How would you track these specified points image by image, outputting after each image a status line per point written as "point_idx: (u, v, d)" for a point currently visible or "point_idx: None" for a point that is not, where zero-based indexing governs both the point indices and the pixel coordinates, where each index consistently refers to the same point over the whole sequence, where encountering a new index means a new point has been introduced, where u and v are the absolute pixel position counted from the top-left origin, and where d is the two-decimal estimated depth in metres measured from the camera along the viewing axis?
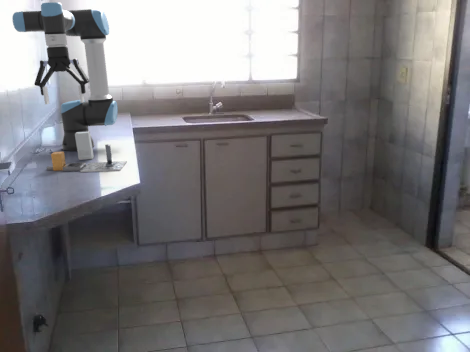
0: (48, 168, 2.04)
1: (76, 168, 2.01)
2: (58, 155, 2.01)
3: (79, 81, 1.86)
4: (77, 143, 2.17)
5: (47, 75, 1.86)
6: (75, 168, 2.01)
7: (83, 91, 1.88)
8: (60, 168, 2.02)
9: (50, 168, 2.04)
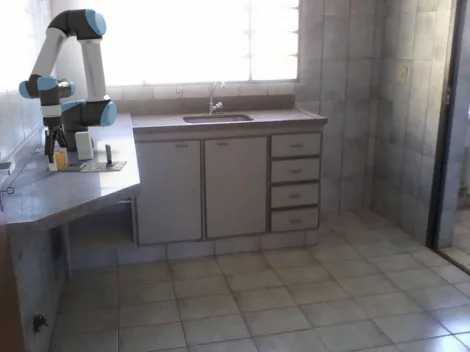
0: (48, 168, 2.04)
1: (76, 168, 2.01)
2: (58, 155, 2.01)
3: None
4: (77, 143, 2.17)
5: None
6: (75, 168, 2.01)
7: None
8: (60, 168, 2.02)
9: None
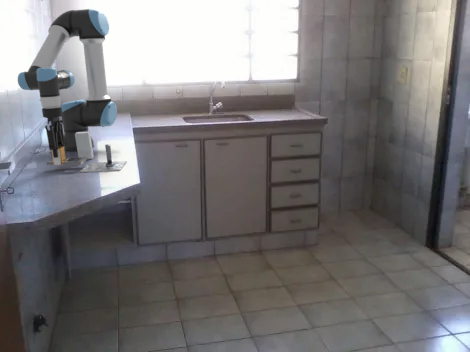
0: (48, 163, 2.03)
1: (76, 163, 2.00)
2: None
3: None
4: (77, 143, 2.17)
5: None
6: (75, 163, 2.00)
7: None
8: None
9: (50, 163, 2.03)
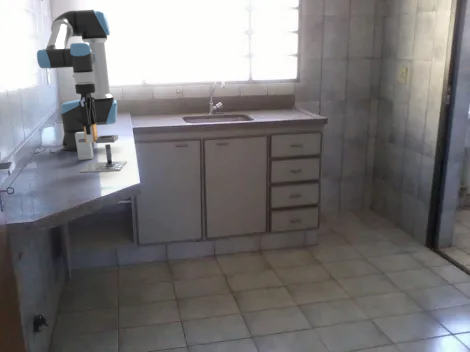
0: (80, 140, 2.00)
1: (109, 140, 1.97)
2: None
3: None
4: (77, 143, 2.17)
5: None
6: (108, 140, 1.97)
7: None
8: None
9: (82, 140, 2.00)
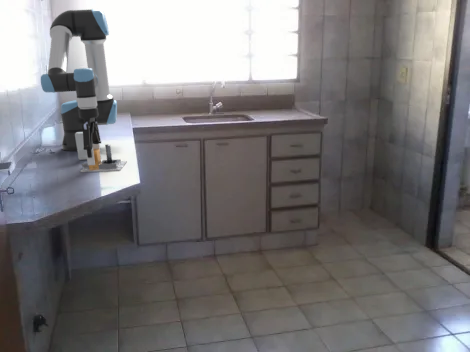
0: (83, 165, 2.03)
1: (112, 165, 2.00)
2: (94, 152, 2.01)
3: None
4: (77, 143, 2.17)
5: None
6: (111, 165, 2.00)
7: None
8: (96, 165, 2.02)
9: (85, 165, 2.03)
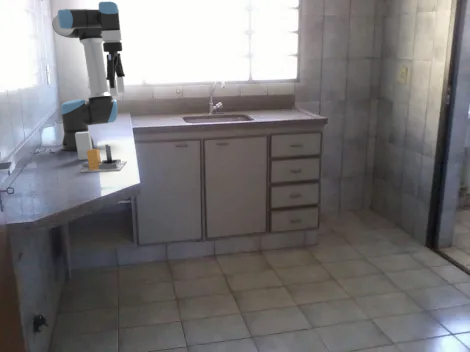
0: (83, 165, 2.03)
1: (112, 165, 2.00)
2: (94, 152, 2.01)
3: None
4: (77, 143, 2.17)
5: None
6: (111, 165, 2.00)
7: None
8: (96, 165, 2.02)
9: (85, 165, 2.03)
